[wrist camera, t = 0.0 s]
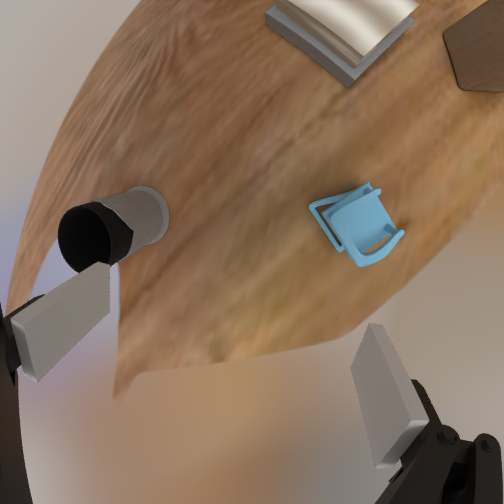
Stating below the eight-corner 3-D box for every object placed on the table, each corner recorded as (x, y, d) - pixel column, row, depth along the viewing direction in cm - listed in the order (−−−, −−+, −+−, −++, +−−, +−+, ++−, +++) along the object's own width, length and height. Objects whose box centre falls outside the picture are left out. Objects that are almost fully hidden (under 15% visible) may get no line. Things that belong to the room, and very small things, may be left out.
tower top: (334, -34, 26) (339, -53, 21) (406, 19, 27) (419, 4, 22) (276, 11, 29) (275, -8, 24) (353, 69, 30) (363, 56, 26)
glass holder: (179, 203, 42) (129, 226, 27) (142, 284, 46) (92, 331, 32) (130, 175, 41) (66, 185, 27) (98, 255, 45) (39, 291, 31)
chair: (386, 218, 40) (422, 239, 28) (337, 251, 41) (357, 284, 30) (357, 170, 38) (387, 174, 27) (306, 205, 40) (317, 221, 29)
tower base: (328, -24, 30) (332, -40, 25) (403, 33, 32) (415, 21, 27) (267, 27, 34) (265, 12, 29) (346, 89, 36) (355, 80, 31)
